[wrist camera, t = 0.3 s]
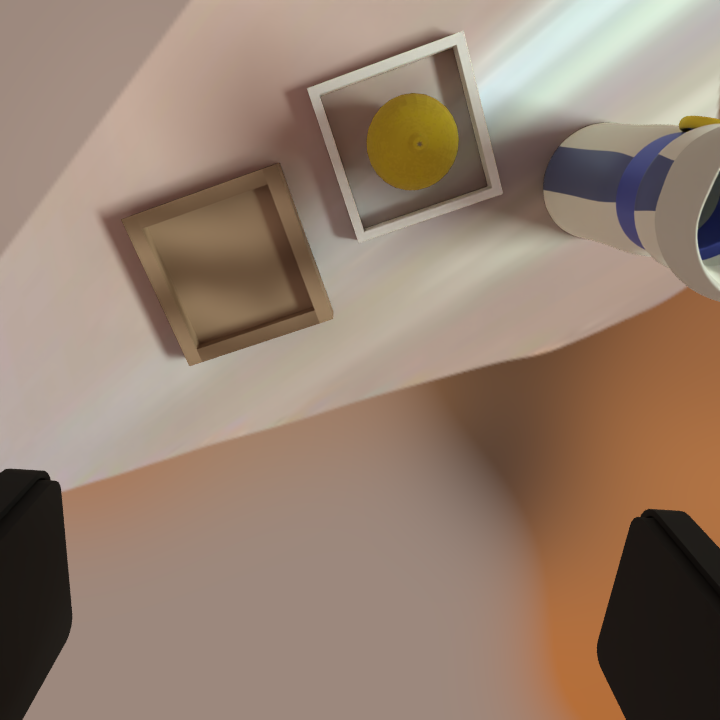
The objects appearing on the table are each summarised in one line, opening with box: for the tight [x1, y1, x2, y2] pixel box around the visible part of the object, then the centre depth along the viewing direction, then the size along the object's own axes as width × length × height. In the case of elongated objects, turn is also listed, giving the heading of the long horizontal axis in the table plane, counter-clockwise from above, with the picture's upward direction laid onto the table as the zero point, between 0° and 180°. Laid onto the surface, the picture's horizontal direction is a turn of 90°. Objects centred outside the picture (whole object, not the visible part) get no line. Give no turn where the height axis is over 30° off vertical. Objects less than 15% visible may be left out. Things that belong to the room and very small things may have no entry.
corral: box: [307, 31, 503, 243], centre depth 40 cm, size 10×10×1 cm
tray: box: [121, 163, 333, 366], centre depth 42 cm, size 11×11×2 cm
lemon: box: [367, 93, 459, 190], centre depth 37 cm, size 6×6×8 cm
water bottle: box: [543, 116, 720, 302], centre depth 30 cm, size 8×9×25 cm
